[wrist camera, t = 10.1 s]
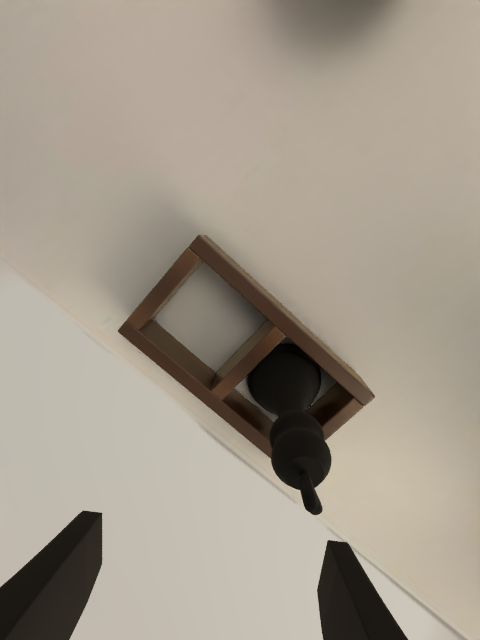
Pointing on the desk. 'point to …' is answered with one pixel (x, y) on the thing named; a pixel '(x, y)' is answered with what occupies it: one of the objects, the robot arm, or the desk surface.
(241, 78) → the desk surface
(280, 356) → the chess piece
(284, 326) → the holder
